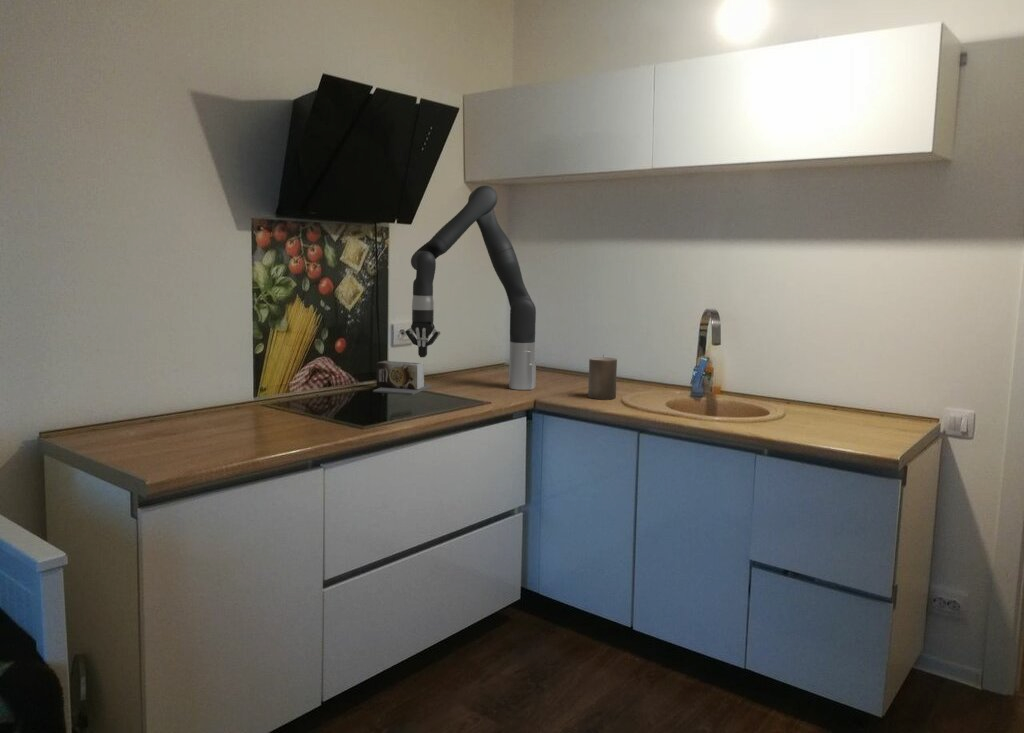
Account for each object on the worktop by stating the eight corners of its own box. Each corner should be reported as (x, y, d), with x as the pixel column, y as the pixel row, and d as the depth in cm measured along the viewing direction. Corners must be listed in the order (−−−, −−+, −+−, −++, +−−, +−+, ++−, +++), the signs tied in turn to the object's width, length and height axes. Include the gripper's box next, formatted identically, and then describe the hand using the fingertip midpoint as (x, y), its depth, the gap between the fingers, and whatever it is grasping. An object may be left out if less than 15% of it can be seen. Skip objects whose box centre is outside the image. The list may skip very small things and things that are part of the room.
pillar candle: (618, 399, 259) (620, 356, 258) (590, 399, 259) (591, 356, 257) (612, 395, 269) (614, 353, 267) (585, 395, 268) (587, 353, 267)
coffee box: (417, 390, 268) (376, 387, 272) (424, 387, 274) (384, 385, 278) (417, 364, 267) (375, 362, 271) (424, 362, 273) (383, 360, 277)
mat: (431, 386, 279) (431, 385, 279) (412, 394, 262) (412, 393, 262) (393, 384, 283) (393, 382, 283) (372, 392, 266) (372, 390, 266)
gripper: (444, 308, 268) (443, 356, 271) (409, 307, 272) (409, 355, 274) (436, 309, 261) (436, 359, 264) (401, 308, 264) (401, 357, 267)
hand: (422, 357), depth 269 cm, fingers closed
